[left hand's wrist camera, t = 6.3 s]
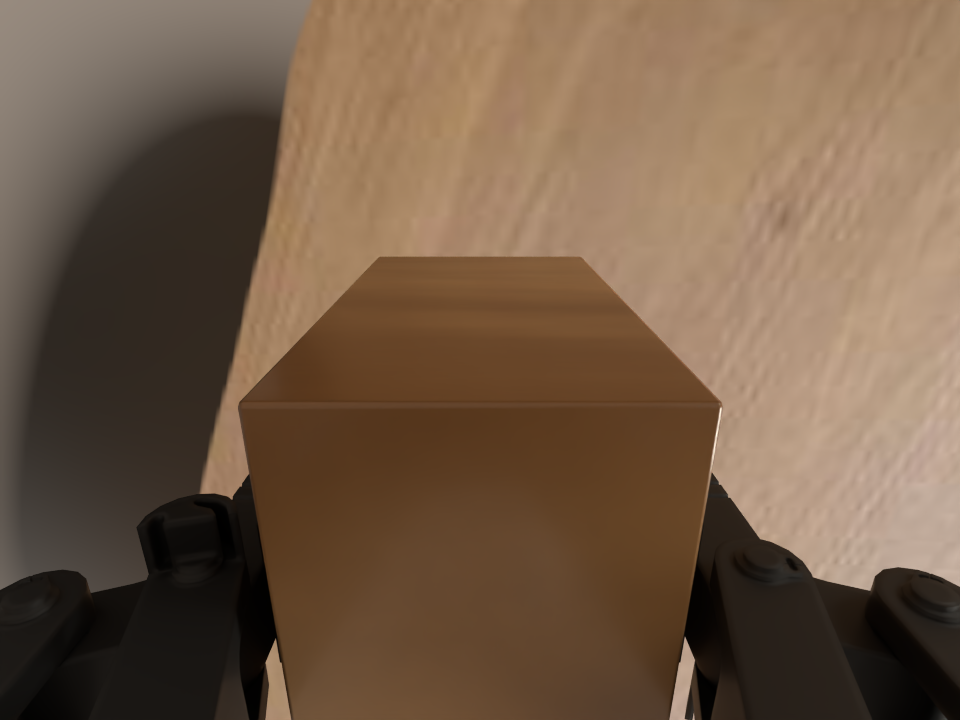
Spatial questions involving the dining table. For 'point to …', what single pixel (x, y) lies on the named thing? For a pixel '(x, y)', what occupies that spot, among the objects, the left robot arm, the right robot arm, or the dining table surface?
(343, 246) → the dining table surface
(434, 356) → the bar
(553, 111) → the dining table surface
